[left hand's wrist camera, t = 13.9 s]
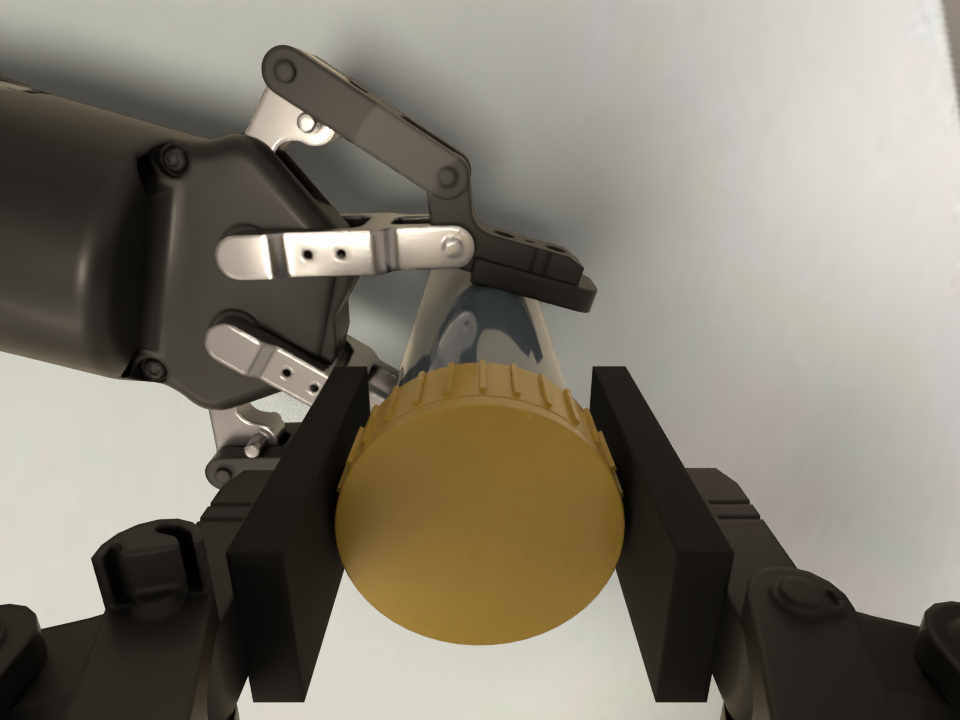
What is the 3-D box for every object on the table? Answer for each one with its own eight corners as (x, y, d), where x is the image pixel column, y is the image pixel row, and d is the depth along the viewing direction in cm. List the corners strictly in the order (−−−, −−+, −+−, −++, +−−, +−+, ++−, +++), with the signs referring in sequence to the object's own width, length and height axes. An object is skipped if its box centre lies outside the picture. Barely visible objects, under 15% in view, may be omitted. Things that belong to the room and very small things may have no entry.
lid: (372, 588, 13) (356, 658, 12) (329, 370, 11) (303, 414, 10) (610, 571, 13) (630, 639, 11) (606, 346, 11) (629, 387, 9)
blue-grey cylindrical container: (427, 236, 24) (358, 397, 10) (536, 241, 24) (612, 408, 10) (426, 339, 26) (363, 598, 12) (528, 343, 26) (584, 607, 12)
